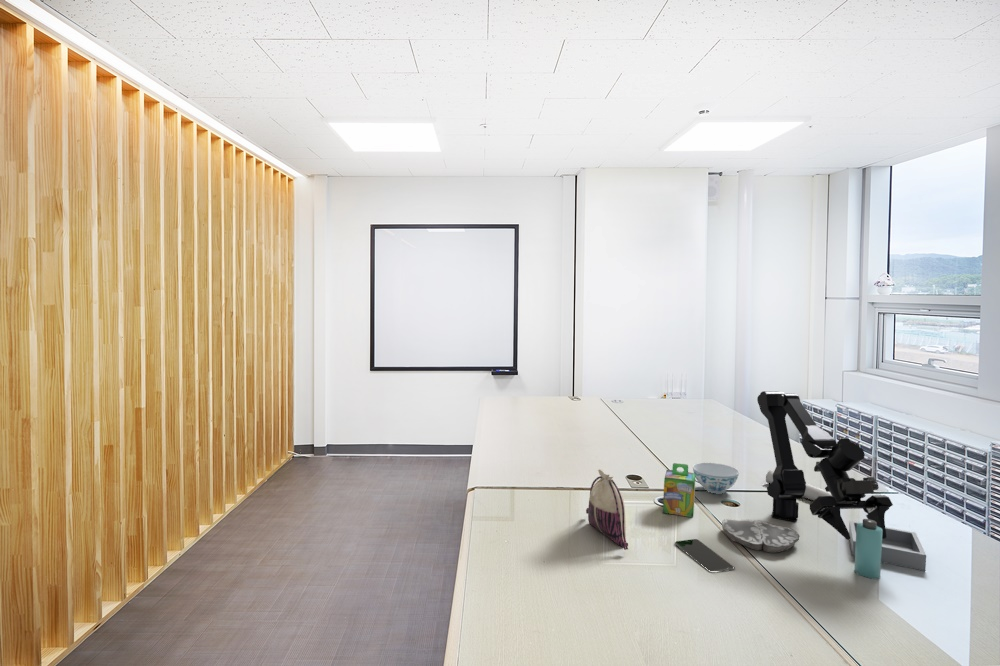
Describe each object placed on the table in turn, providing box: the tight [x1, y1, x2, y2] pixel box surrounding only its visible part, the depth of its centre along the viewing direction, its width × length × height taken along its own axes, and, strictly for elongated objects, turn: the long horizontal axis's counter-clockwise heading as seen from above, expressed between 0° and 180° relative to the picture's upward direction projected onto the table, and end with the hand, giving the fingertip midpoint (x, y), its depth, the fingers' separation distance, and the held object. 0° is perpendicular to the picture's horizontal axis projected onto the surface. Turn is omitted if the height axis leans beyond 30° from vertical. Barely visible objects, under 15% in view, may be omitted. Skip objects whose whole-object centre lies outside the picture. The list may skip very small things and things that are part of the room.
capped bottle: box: [853, 518, 883, 580], centre depth 128 cm, size 5×5×13 cm
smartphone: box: [674, 538, 736, 572], centre depth 137 cm, size 7×1×16 cm
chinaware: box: [692, 462, 740, 495], centre depth 185 cm, size 15×15×8 cm
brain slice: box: [721, 518, 801, 553], centre depth 145 cm, size 20×17×3 cm
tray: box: [848, 520, 927, 571], centre depth 140 cm, size 15×15×4 cm
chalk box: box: [662, 462, 696, 518], centre depth 166 cm, size 9×9×15 cm
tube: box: [765, 469, 832, 502], centre depth 181 cm, size 5×5×25 cm
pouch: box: [585, 468, 629, 550], centre depth 149 cm, size 25×8×19 cm, turn 22°
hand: (866, 538), depth 129 cm, fingers open, 9 cm apart
